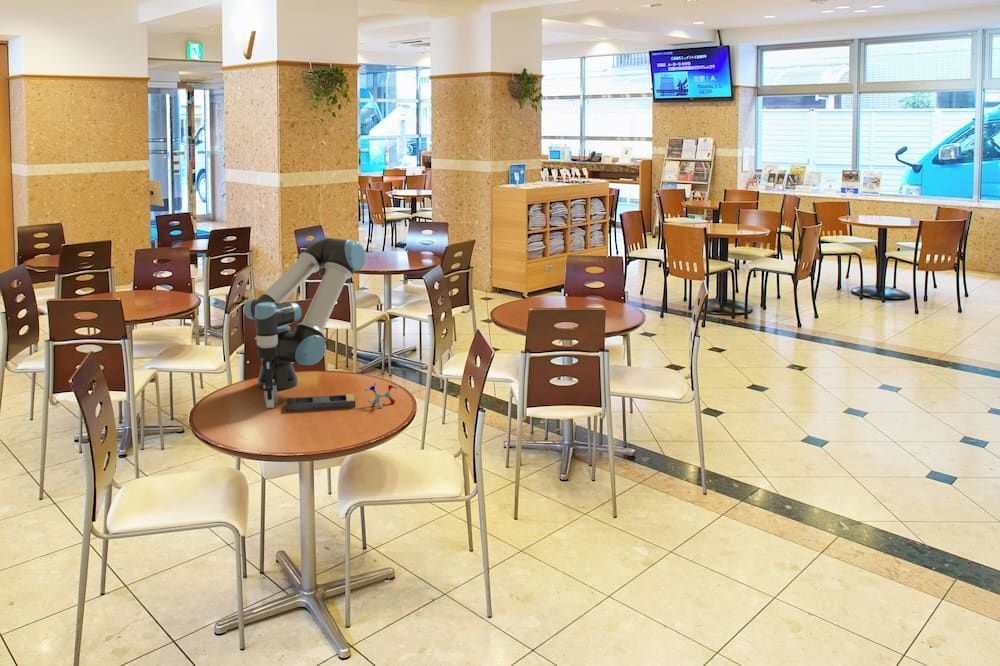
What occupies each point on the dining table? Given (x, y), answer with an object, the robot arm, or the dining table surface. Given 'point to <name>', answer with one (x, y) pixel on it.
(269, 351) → the robot arm
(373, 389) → the molecular model
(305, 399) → the grey slotted frame
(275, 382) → the light grey rectangular block
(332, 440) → the dining table surface
